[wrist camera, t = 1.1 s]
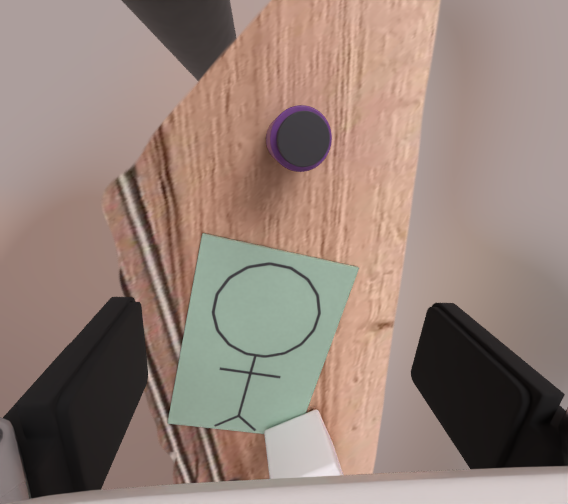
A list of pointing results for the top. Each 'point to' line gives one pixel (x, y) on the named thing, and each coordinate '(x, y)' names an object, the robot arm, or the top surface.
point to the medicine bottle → (301, 448)
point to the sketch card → (255, 335)
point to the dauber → (299, 138)
